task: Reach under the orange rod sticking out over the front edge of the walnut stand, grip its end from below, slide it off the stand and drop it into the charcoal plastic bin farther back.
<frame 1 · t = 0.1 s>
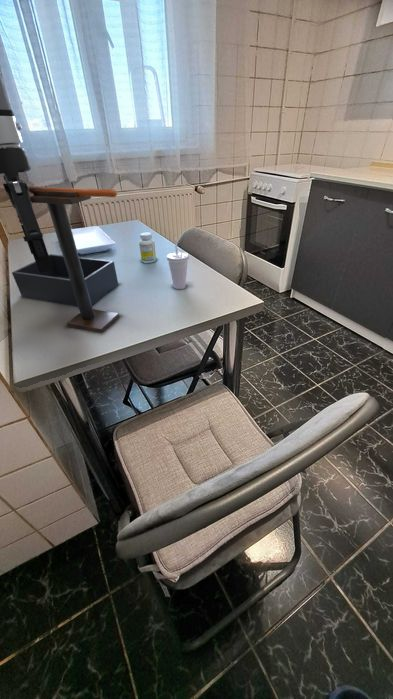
hand: (41, 261, 66), 16 cm above the table, tool pointing down, fingers open, 13 cm apart
bin: (71, 290, 90), on the table
tray: (88, 244, 126), on the table
orange rod: (71, 195, 57), point 29 cm above the table, touching stand
stand: (94, 321, 75), on the table
supplement bottle: (149, 261, 109), on the table
smoothie: (179, 287, 90), on the table
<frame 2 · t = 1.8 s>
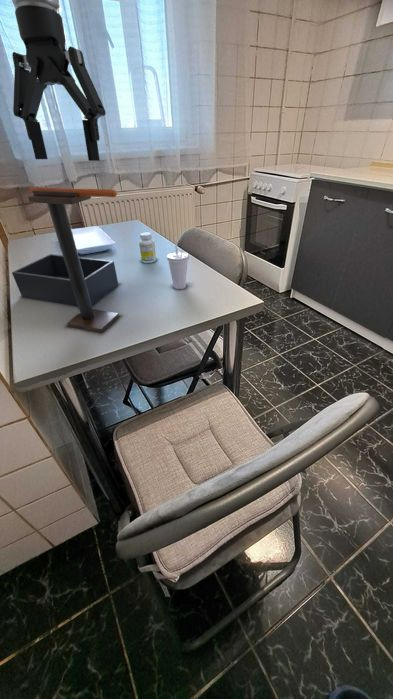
hand: (67, 160, 62), 34 cm above the table, tool pointing down, fingers open, 13 cm apart
nothing on the table moved.
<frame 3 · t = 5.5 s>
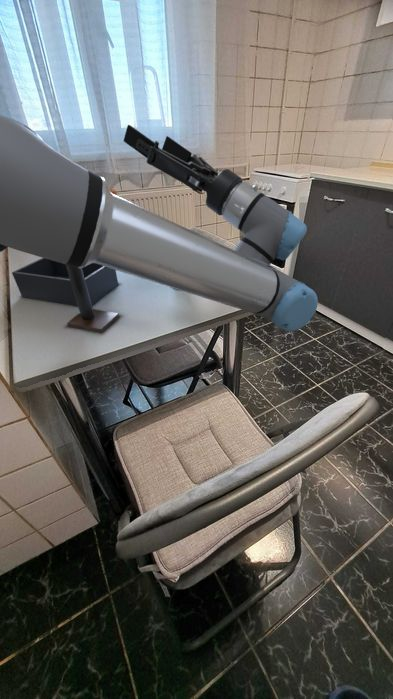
hand: (147, 138, 59), 37 cm above the table, tool pointing upward, fingers open, 13 cm apart
nothing on the table moved.
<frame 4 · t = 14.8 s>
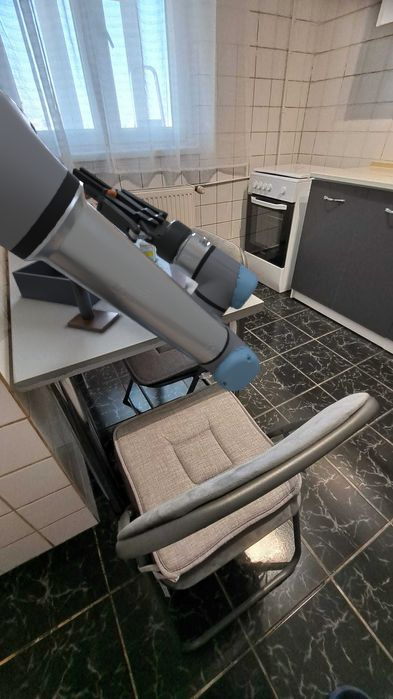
hand: (76, 175, 54), 32 cm above the table, tool pointing upward, fingers closed on orange rod
orange rod: (71, 195, 57), point 29 cm above the table, touching gripper, stand
everything else where it was.
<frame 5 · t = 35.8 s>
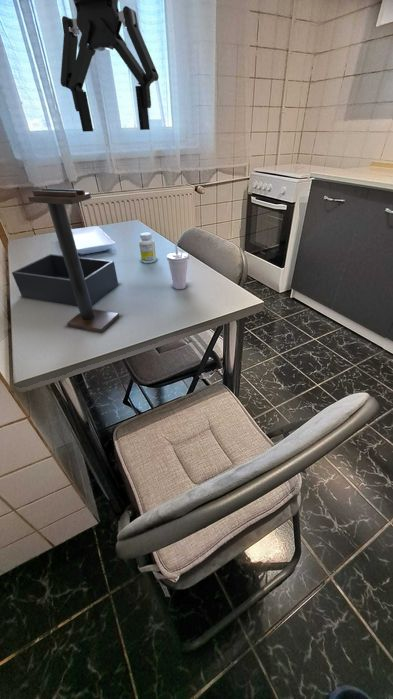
hand: (115, 130, 61), 39 cm above the table, tool pointing down, fingers open, 13 cm apart
orange rod: (72, 288, 89), point 1 cm above the table, tilted 14°, touching bin
everything else where it was.
at the end: orange rod 0.4 cm from the bin (horizontally); orange rod point 0.6 cm above the table; the gripper is holding nothing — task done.
